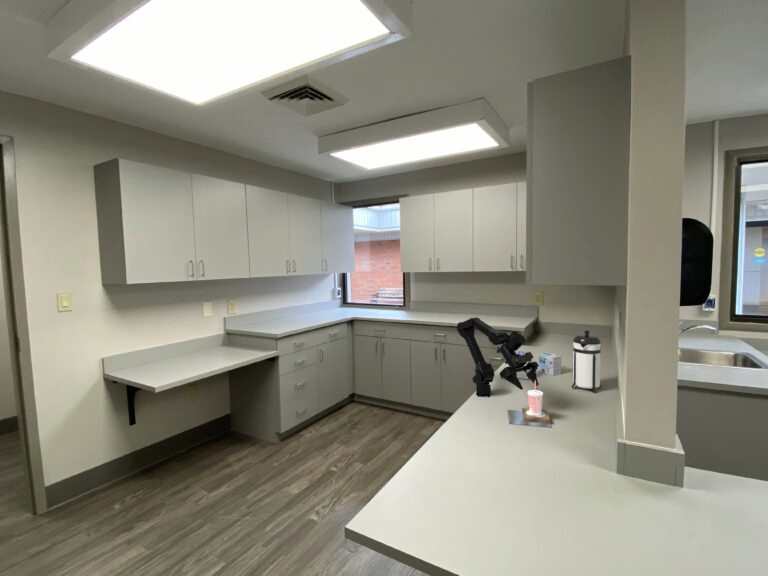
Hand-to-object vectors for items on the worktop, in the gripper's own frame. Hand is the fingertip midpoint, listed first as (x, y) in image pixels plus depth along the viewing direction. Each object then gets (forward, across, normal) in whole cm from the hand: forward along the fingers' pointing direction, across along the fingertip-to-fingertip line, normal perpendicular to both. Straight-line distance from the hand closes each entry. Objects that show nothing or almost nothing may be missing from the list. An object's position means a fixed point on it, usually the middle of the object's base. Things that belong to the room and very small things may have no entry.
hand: (530, 387), depth 159 cm
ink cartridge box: (-18, +37, +37) cm, 55 cm away
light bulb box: (-16, +57, +35) cm, 69 cm away
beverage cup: (+9, 0, +5) cm, 11 cm away
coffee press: (+2, +52, +16) cm, 54 cm away
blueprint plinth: (+10, -3, +8) cm, 13 cm away
